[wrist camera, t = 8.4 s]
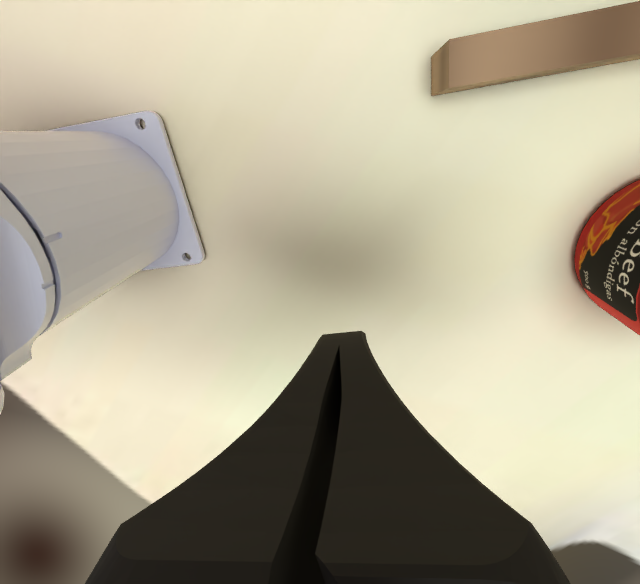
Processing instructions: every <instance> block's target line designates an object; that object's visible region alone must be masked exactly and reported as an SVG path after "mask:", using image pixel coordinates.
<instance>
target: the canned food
mask: <svg viewBox="0 0 640 584" xmlns="http://www.w3.org/2000/svg"><path fill="white" fill-rule="evenodd" d="M574 258H575V270H576V274H577V277H578V280H579V282H580V283H581V285H582V287H583V288H584V290H585V291H586V293H587V295H588V296H589V298H590V299H591V300H593V301H594V302H595V303H596V304H597V305H598V306H599V307H601V308H602V309H603V310H605V311H606V312H608V313H609V314H610V315H612V316H613V317H615V318H616V319H617V320H619V321H620V322H622V323H623V324H624V325H626V326H627V327H629V328H630V329H631V330H633V331H634V332H636V333H637V334H638V335H640V180H638V181H636V182H634V183H631V184H629V185H628V186H626V187H625V188H623V189H621V190H620V191H618V192H617V193H615V194H614V195H613V196H611V197H610V198H609V199H608V200H607V201H606V202H604V203H603V204H602V205H601V206H600V207H599V208H598V210H597V211H596V212H595V213H594V214H593V215H592V216H591V218H590V219H589V221H588V222H587V224H586V225H585V227H584V229H583V230H582V232H581V235H580V237H579V240H578V242H577V246H576V251H575V257H574Z"/></svg>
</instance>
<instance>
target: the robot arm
mask: <svg viewBox="0 0 640 584" xmlns="http://www.w3.org/2000/svg"><path fill="white" fill-rule="evenodd" d="M141 119H143V120H144V122H145V129H142V128H141V126H140V120H141ZM185 253H188V254H189V255H190V257H191V259H188V258H186V256H185ZM204 258H205V253H204V250H203V246H202V243H201V240H200V237H199V234H198V231H197V228H196V224H195V221H194V218H193V215H192V212H191V209H190V206H189V202H188V199H187V196H186V193H185V190H184V187H183V184H182V181H181V177H180V174H179V171H178V168H177V165H176V162H175V159H174V155H173V152H172V149H171V146H170V143H169V140H168V137H167V133H166V130H165V127H164V124H163V121H162V119H161V117H160V116H159V115H158V114H157V113H156V112H154V111H142V112H137V113H132V114H127V115H122V116H117V117H112V118H107V119H102V120H97V121H92V122H86V123H81V124H76V125H71V126H66V127H61V128H56V129H51V130H46V131H0V381H1V380H2V379H4V378H5V377H7V376H8V375H10V374H11V373H12V372H14V371H15V370H17V369H18V368H19V367H21V366H22V365H24V364H25V363H27V362H28V361H29V360H31V359H32V356H31V347H32V344H33V342H34V340H35V339H36V338H37V337H38V336H39V335H41V334H43V333H44V332H46V331H48V330H49V329H51V328H52V327H54V326H55V325H57V324H58V323H60V322H61V321H63V320H64V319H66V318H68V317H69V316H71V315H72V314H74V313H75V312H77V311H78V310H80V309H81V308H83V307H84V306H86V305H88V304H89V303H91V302H92V301H94V300H95V299H97V298H98V297H100V296H101V295H103V294H105V293H106V292H108V291H109V290H111V289H112V288H114V287H115V286H117V285H118V284H120V283H121V282H123V281H125V280H126V279H128V278H129V277H131V276H132V275H134V274H135V273H137V272H138V271H142V270H150V269H159V268H167V267H176V266H184V265H193V264H199V263H201V262H202V261H203V260H204ZM3 404H4V391H3V388H2V385H1V383H0V414H1V411H2V409H3ZM85 584H570V582H569V580H568V579H567V577H566V575H565V573H564V572H563V570H562V569H561V567H560V566H559V564H558V562H557V560H556V559H555V557H554V556H553V554H552V552H551V551H550V549H549V548H548V546H547V545H546V544H545V542H544V541H543V539H542V538H541V536H540V535H539V533H538V532H537V530H536V529H535V528H534V526H533V525H532V523H530V522H529V521H528V520H527V519H525V518H524V517H523V516H521V515H520V514H519V513H518V512H516V511H515V510H514V509H513V508H511V507H510V506H509V505H508V504H506V503H505V502H504V501H503V500H501V499H500V498H499V497H498V496H497V495H495V494H494V493H493V492H492V491H491V490H489V489H488V488H487V487H486V486H485V485H483V484H482V483H481V482H480V481H479V480H478V479H477V478H475V477H474V476H473V475H472V474H471V473H470V472H469V471H468V470H466V469H465V468H464V467H463V466H462V465H461V464H460V463H459V462H458V461H457V460H456V459H455V458H454V457H453V456H452V455H450V454H449V453H448V452H447V451H446V450H445V449H444V448H443V447H442V446H441V445H440V444H439V443H438V442H437V441H436V440H435V439H434V438H433V437H432V436H431V435H430V434H429V433H428V432H427V430H426V429H425V428H424V427H423V426H422V425H421V424H420V423H419V421H418V420H417V419H416V418H415V417H414V416H413V414H412V413H411V412H410V411H409V410H408V408H407V407H406V406H405V405H404V403H403V402H402V401H401V400H400V398H399V397H398V395H397V394H396V393H395V391H394V390H393V388H392V387H391V386H390V384H389V383H388V381H387V380H386V378H385V376H384V375H383V373H382V371H381V370H380V368H379V366H378V364H377V363H376V361H375V359H374V357H373V355H372V353H371V351H370V348H369V346H368V343H367V340H366V334H365V333H364V332H362V331H356V332H346V333H335V334H325V335H322V336H321V337H320V339H319V340H318V342H317V344H316V345H315V347H314V348H313V350H312V351H311V353H310V355H309V356H308V358H307V359H306V361H305V362H304V364H303V365H302V366H301V368H300V369H299V371H298V372H297V373H296V375H295V376H294V378H293V379H292V380H291V382H290V383H289V384H288V385H287V387H286V388H285V389H284V390H283V392H282V393H281V394H280V395H279V396H278V398H277V399H276V400H275V401H274V402H273V404H272V405H271V406H270V407H269V408H268V409H267V410H266V411H265V412H264V414H263V415H262V416H261V417H260V418H259V419H258V420H257V421H256V422H255V423H254V424H253V425H252V426H251V427H250V428H249V429H248V430H247V431H245V432H244V433H243V434H242V435H241V436H240V437H239V438H238V439H236V440H235V441H234V442H233V443H232V444H231V445H230V446H229V447H227V448H226V449H225V450H224V451H223V452H222V453H221V454H219V455H218V456H217V457H216V458H214V459H213V460H212V461H211V462H209V463H208V464H207V465H206V466H204V467H203V468H202V469H201V470H199V471H198V472H197V473H195V474H194V475H193V476H191V477H190V478H189V479H187V480H186V481H185V482H183V483H182V484H180V485H179V486H178V487H176V488H175V489H173V490H172V491H171V492H169V493H168V494H166V495H165V496H163V497H162V498H160V499H159V500H157V501H156V502H154V503H153V504H151V505H150V506H148V507H147V508H145V509H144V510H142V511H141V512H139V513H138V514H136V515H135V516H133V517H132V518H130V519H129V520H127V521H125V522H124V523H122V524H121V525H120V527H119V528H118V530H117V531H116V533H115V534H114V536H113V538H112V539H111V541H110V543H109V544H108V546H107V548H106V549H105V551H104V552H103V554H102V556H101V558H100V559H99V561H98V563H97V564H96V566H95V568H94V569H93V571H92V573H91V574H90V576H89V578H88V579H87V581H86V583H85Z"/></svg>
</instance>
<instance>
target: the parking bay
mask: <svg viewBox="0 0 640 584" xmlns="http://www.w3.org/2000/svg"><path fill="white" fill-rule="evenodd" d="M636 59H640V1H638V2H633V3H628V4H623V5H618V6H613V7H608V8H603V9H598V10H593V11H588V12H583V13H578V14H573V15H568V16H563V17H558V18H553V19H548V20H543V21H538V22H534V23H529V24H524V25H519V26H514V27H509V28H504V29H499V30H494V31H489V32H484V33H479V34H474V35H469V36H464V37H459V38H454V39H449V40H448V41H447V42H446V43H445V44H444V45H443V46H442V47H441V48H440V49H439V50H438V51H437V52H436V53H435V54H434V55H433V56H432V57H431V96H435V95H440V94H446V93H451V92H457V91H463V90H468V89H474V88H479V87H485V86H491V85H496V84H502V83H507V82H513V81H519V80H524V79H530V78H535V77H541V76H547V75H552V74H558V73H563V72H569V71H575V70H580V69H586V68H591V67H597V66H603V65H608V64H614V63H619V62H625V61H631V60H636Z"/></svg>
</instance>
